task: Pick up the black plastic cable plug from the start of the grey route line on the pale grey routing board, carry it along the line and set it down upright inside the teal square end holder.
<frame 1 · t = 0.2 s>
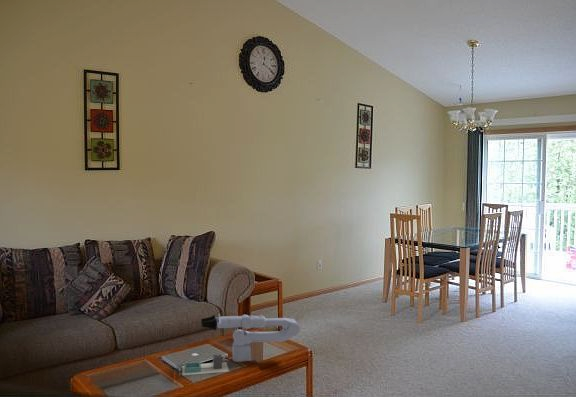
hand: (201, 322, 238), 21 cm above the table, tool horizontal, fingers open, 7 cm apart
cable plug: (217, 367, 231), point 1 cm above the table, touching routing board
routing board: (205, 370, 230), on the table
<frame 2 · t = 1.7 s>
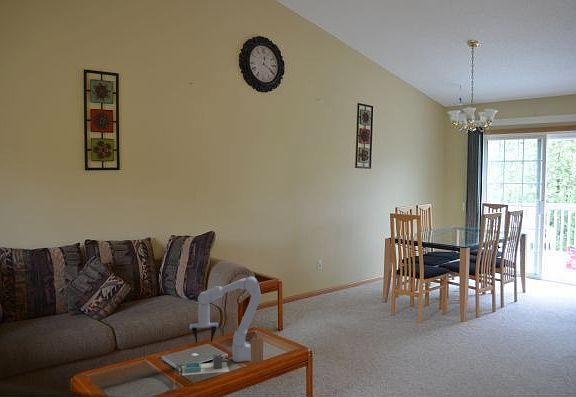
hand: (204, 341, 242), 10 cm above the table, tool pointing down, fingers open, 7 cm apart
nothing on the table moved.
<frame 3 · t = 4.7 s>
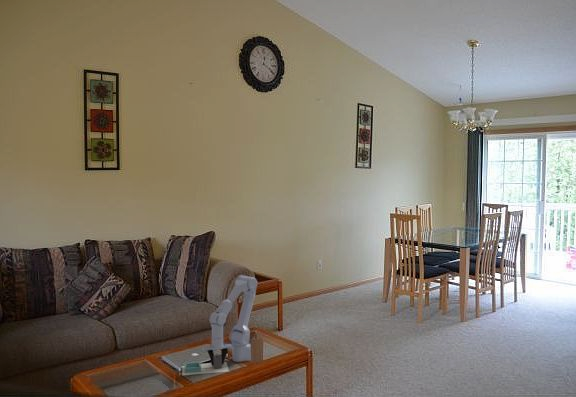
hand: (217, 364, 231), 2 cm above the table, tool pointing down, fingers closed on cable plug, 4 cm apart
cable plug: (217, 367, 231), point 1 cm above the table, touching gripper, routing board
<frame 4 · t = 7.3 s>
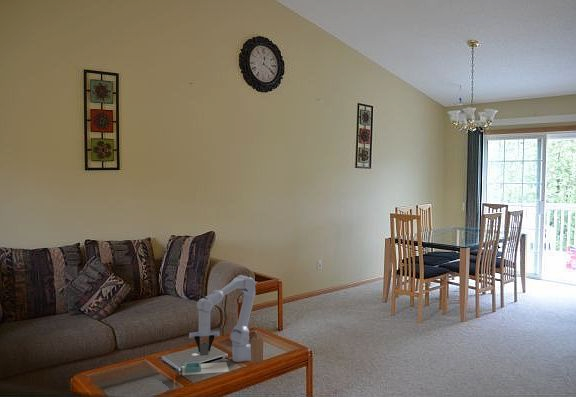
hand: (204, 351, 230), 9 cm above the table, tool pointing down, fingers closed on cable plug, 4 cm apart
cable plug: (204, 354, 230), point 8 cm above the table, touching gripper
when the fingers open (4 cm above the table, at t = 10.0 s): cable plug drops 1 cm, resting on routing board.
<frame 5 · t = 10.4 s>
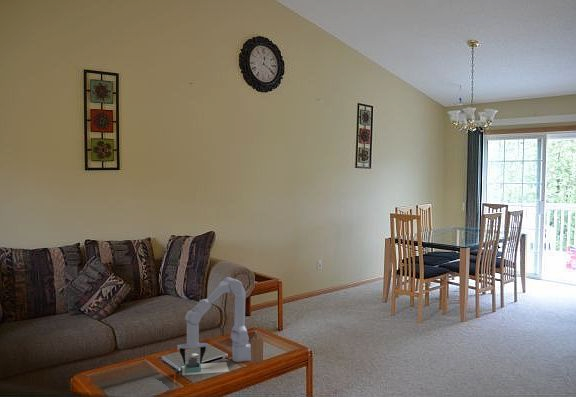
hand: (192, 363, 229), 4 cm above the table, tool pointing down, fingers open, 7 cm apart
cable plug: (192, 369, 228), point 1 cm above the table, touching routing board
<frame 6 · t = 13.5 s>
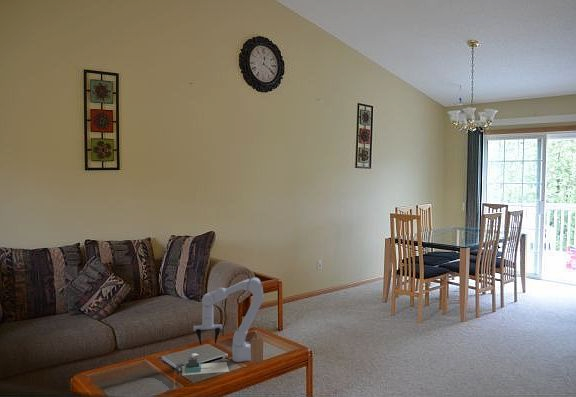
hand: (207, 343, 242), 9 cm above the table, tool pointing down, fingers open, 7 cm apart
nothing on the table moved.
at the end: cable plug 0.2 cm from the target spot on the routing board, point 1.0 cm above the routing board's base; cable plug tilted 0°; the gripper is holding nothing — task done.
